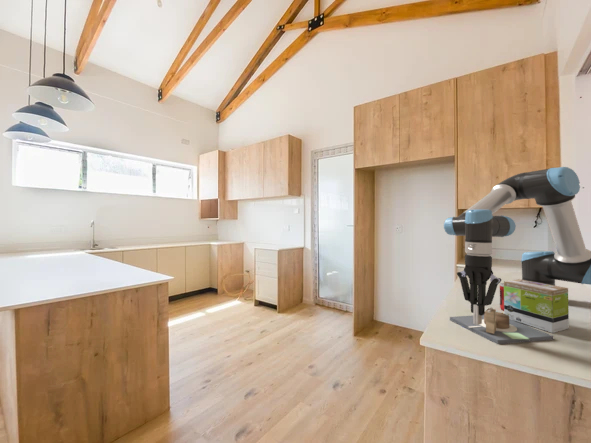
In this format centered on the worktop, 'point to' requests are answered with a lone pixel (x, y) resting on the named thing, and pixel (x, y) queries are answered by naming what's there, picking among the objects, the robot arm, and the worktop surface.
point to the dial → (495, 320)
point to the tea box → (537, 304)
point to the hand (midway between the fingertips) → (477, 323)
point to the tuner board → (503, 331)
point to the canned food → (502, 296)
